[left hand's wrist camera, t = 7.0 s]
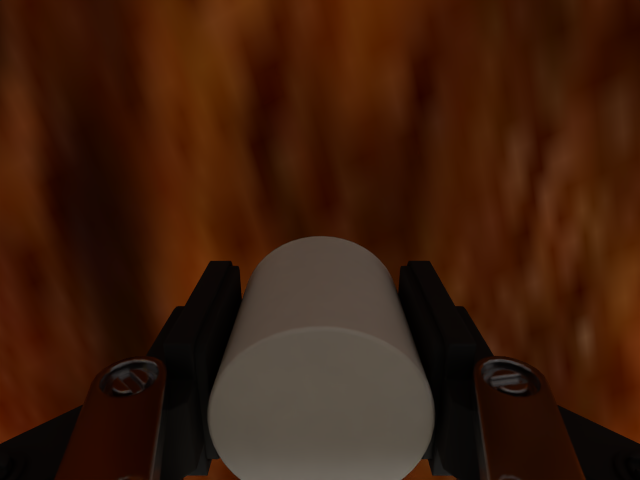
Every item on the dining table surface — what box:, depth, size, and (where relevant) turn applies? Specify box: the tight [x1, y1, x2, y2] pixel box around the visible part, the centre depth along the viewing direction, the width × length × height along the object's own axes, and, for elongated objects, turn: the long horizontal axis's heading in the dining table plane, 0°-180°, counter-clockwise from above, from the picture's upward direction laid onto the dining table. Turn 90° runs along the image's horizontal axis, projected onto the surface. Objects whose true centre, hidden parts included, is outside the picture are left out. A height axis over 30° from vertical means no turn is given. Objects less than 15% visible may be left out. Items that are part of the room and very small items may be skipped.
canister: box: [207, 236, 435, 480], centre depth 10 cm, size 4×4×4 cm
